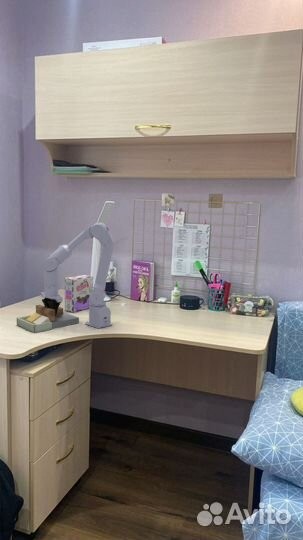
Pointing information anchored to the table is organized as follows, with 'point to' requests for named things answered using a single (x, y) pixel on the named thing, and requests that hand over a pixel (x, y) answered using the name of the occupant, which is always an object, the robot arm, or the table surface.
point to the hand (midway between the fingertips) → (51, 315)
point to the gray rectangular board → (48, 323)
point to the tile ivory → (41, 320)
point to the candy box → (78, 292)
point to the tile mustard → (33, 318)
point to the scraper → (48, 312)
